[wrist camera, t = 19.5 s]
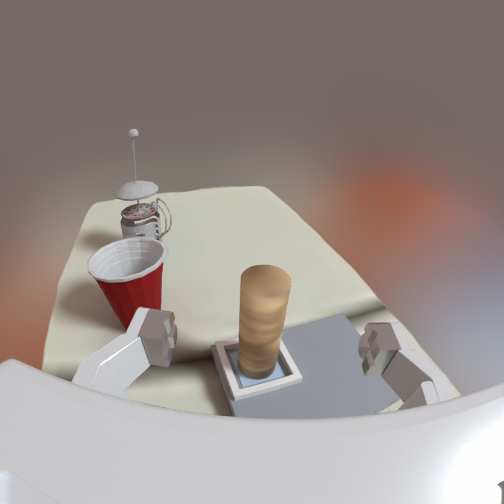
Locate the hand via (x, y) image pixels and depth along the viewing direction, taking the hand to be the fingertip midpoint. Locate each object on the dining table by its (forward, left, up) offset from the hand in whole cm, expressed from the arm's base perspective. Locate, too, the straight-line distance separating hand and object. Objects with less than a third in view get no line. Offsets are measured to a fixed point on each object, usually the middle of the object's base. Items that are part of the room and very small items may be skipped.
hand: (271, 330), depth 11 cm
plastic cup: (-9, +24, -22) cm, 34 cm away
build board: (+10, +7, -22) cm, 25 cm away
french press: (-7, +42, -22) cm, 48 cm away
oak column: (+5, +11, -20) cm, 23 cm away
